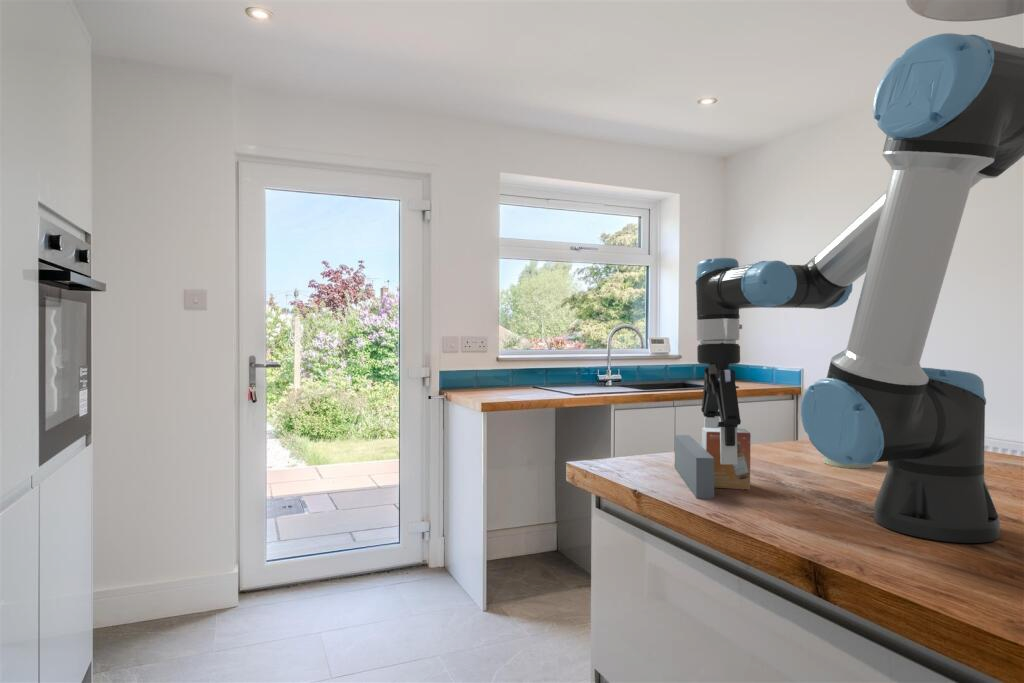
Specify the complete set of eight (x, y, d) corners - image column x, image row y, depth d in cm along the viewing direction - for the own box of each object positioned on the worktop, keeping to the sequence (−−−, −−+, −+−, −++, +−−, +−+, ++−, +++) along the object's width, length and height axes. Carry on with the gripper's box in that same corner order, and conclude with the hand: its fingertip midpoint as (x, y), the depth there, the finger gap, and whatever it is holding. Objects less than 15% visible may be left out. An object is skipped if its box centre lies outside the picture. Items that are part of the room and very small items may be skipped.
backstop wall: (714, 498, 106) (714, 458, 106) (696, 498, 106) (696, 457, 106) (689, 468, 130) (689, 435, 130) (674, 467, 130) (674, 434, 130)
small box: (705, 488, 113) (705, 431, 113) (701, 481, 119) (701, 426, 119) (751, 490, 112) (751, 432, 112) (744, 482, 117) (744, 427, 117)
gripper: (758, 342, 102) (760, 470, 101) (723, 342, 126) (724, 445, 126) (712, 342, 102) (713, 470, 102) (685, 343, 127) (687, 445, 127)
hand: (720, 457), depth 114 cm, fingers open, 13 cm apart
